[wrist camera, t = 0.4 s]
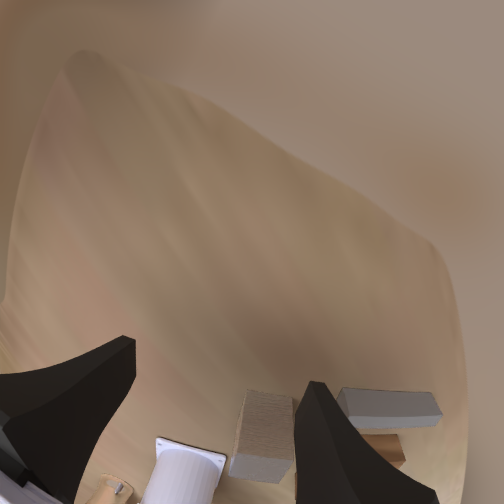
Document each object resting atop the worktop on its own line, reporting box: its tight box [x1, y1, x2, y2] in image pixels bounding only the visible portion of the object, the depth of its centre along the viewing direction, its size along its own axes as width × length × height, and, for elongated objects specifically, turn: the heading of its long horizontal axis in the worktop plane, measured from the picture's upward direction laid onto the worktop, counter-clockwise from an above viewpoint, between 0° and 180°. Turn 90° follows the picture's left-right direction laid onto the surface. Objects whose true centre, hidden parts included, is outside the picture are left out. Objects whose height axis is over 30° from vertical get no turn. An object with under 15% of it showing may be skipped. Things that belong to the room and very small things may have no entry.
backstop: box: [337, 387, 443, 428], centre depth 20 cm, size 2×10×4 cm, turn 78°
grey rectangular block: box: [228, 389, 294, 484], centre depth 20 cm, size 4×4×7 cm
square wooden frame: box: [295, 434, 406, 500], centre depth 23 cm, size 9×9×4 cm
